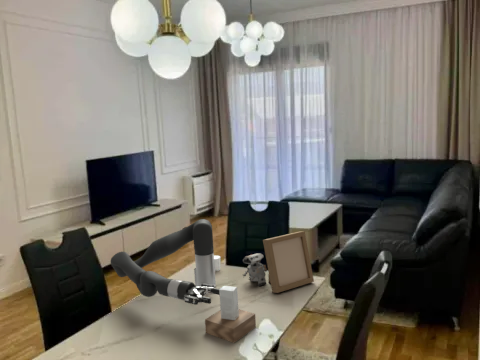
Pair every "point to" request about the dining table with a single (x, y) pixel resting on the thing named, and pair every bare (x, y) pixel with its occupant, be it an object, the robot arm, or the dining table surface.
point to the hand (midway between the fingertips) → (215, 296)
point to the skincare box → (229, 302)
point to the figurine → (255, 268)
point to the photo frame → (288, 261)
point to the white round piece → (217, 262)
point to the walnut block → (230, 325)
